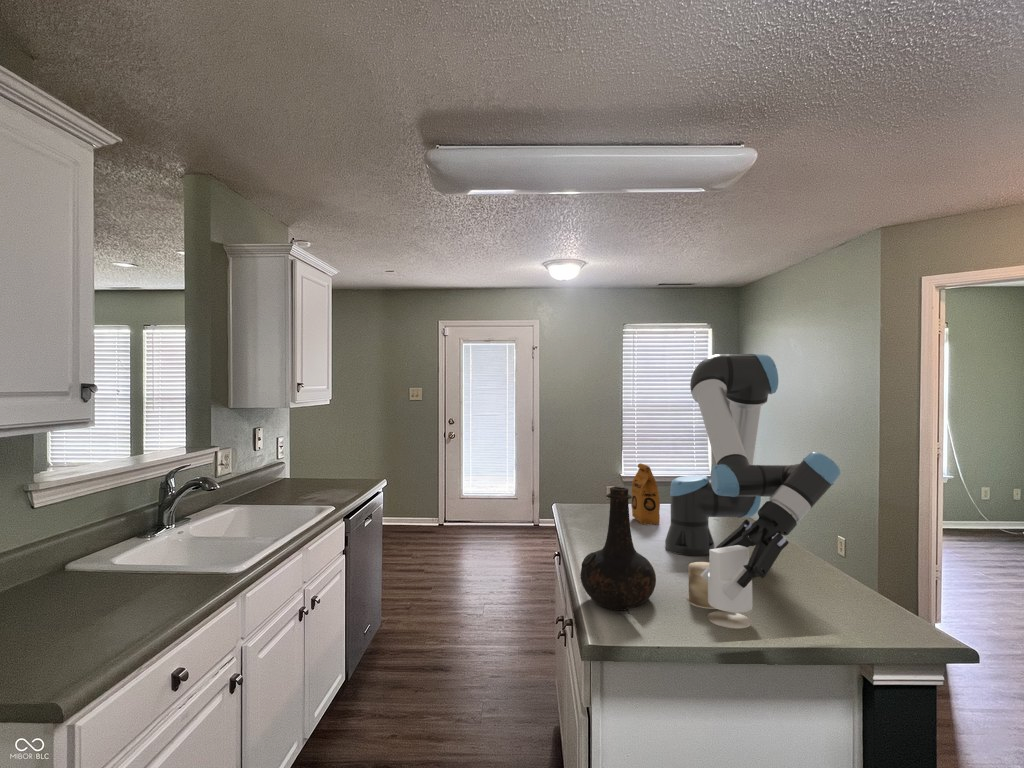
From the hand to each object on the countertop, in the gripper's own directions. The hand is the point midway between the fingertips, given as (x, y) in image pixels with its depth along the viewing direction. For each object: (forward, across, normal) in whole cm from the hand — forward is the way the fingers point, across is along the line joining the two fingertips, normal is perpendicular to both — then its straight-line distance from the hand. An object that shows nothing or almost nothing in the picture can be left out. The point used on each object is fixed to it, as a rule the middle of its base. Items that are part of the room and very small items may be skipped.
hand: (715, 587), depth 119 cm
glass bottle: (+18, +16, +6) cm, 25 cm away
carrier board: (+2, +6, -10) cm, 12 cm away
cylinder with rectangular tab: (+1, 0, -5) cm, 5 cm away
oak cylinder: (+3, +11, -7) cm, 13 cm away
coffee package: (-8, +94, -20) cm, 96 cm away
